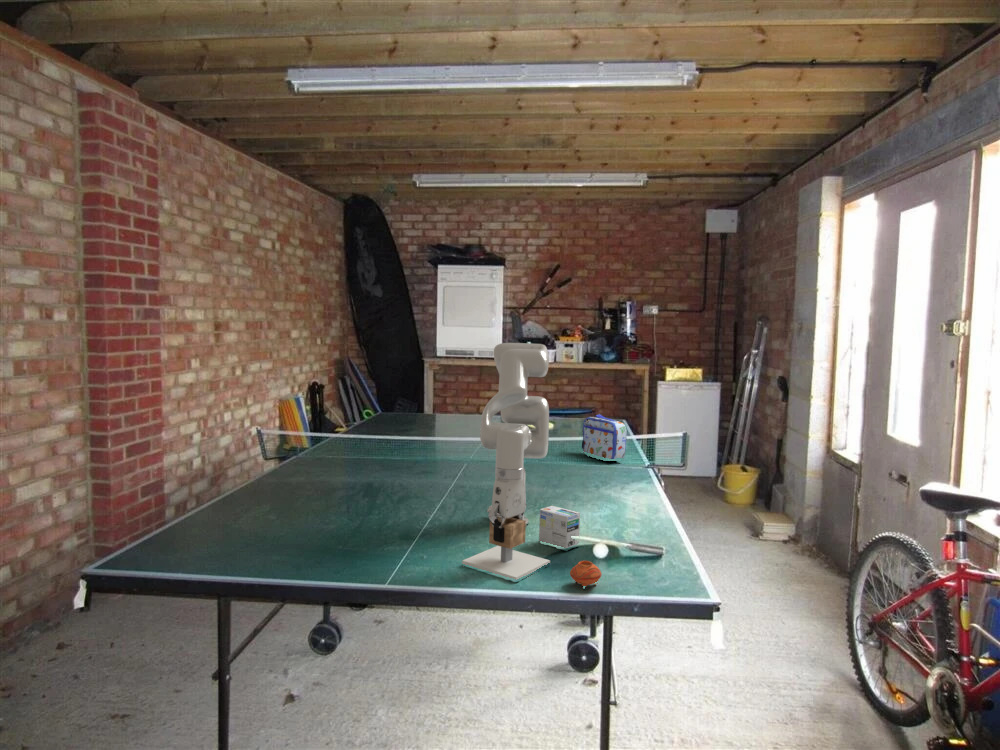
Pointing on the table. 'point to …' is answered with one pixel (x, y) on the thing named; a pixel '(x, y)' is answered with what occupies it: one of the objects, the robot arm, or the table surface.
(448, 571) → the table surface
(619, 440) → the lunch box
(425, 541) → the table surface
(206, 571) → the table surface
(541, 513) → the light bulb box
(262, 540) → the table surface
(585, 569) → the pot
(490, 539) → the oak collar
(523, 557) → the plate
